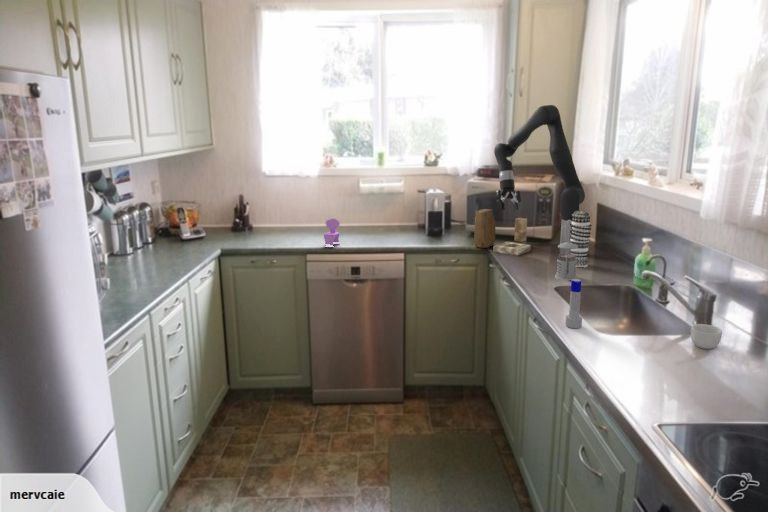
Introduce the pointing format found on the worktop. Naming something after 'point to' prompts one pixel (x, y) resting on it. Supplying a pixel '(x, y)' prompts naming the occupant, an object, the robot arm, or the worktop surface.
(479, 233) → the block
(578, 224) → the decorative candle
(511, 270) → the worktop surface
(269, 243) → the worktop surface
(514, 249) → the birch board
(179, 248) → the worktop surface
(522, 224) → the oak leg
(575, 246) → the french press
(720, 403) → the worktop surface
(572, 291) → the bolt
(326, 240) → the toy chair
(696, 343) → the teacup
